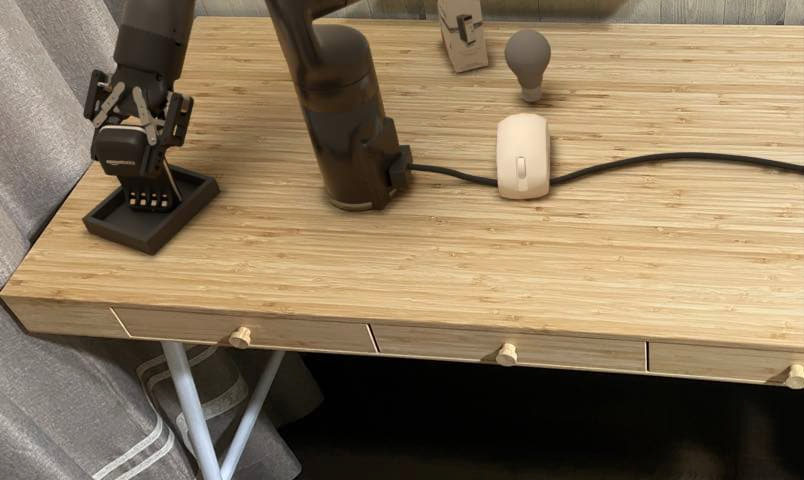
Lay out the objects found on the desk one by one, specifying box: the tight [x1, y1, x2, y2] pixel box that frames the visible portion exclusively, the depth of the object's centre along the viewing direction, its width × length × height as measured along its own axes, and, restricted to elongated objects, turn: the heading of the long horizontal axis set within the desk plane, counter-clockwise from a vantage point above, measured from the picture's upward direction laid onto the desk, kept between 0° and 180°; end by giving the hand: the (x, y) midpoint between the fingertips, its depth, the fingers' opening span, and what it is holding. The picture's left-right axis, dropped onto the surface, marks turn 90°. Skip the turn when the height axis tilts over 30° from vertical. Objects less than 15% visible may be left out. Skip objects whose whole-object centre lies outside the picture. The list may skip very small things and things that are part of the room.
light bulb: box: [503, 28, 552, 102], centre depth 131 cm, size 6×6×10 cm
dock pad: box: [81, 162, 221, 256], centre depth 124 cm, size 11×13×2 cm
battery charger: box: [93, 123, 182, 212], centre depth 121 cm, size 7×4×11 cm, turn 80°
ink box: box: [435, 0, 489, 73], centre depth 139 cm, size 9×5×12 cm, turn 17°
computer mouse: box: [495, 112, 551, 200], centre depth 123 cm, size 6×13×6 cm, turn 0°
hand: (123, 169), depth 119 cm, fingers closed on battery charger, 7 cm apart
